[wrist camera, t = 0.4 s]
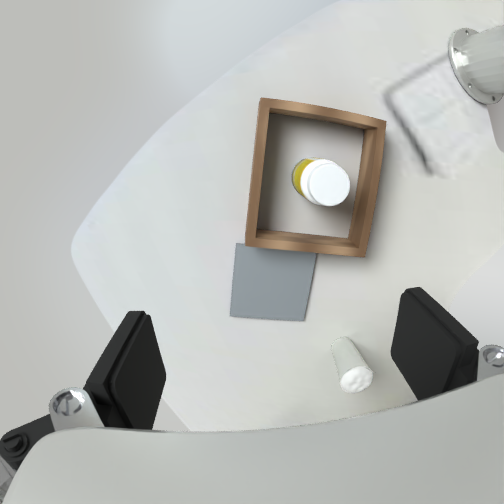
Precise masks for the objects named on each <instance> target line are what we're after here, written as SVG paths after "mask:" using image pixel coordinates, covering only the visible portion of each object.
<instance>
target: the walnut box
mask: <svg viewBox="0 0 504 504" xmlns="http://www.w3.org/2000/svg"><path fill="white" fill-rule="evenodd" d="M269 113H275V114H283V115H290V116H297V117H304V118H310V119H316V120H321V121H327V122H332V123H337V124H342V125H347V126H352V127H357V128H361V129H364V138H363V146H362V154H361V162H360V170H359V177H358V183H357V190H356V196H355V203H354V209H353V215H352V220H351V226H350V231H349V237H348V239H347V238H338V237H329V236H320V235H310V234H301V233H291V232H281V231H271V230H260V229H256V228H257V219H258V210H259V201H260V192H261V183H262V174H263V164H264V155H265V146H266V137H267V128H268V119H269ZM385 130H386V121H384V120H380V119H376V118H373V117H369V116H364V115H360V114H356V113H351V112H347V111H342V110H337V109H332V108H327V107H322V106H317V105H311V104H305V103H299V102H292V101H285V100H278V99H270V98H261V99H260V102H259V108H258V117H257V127H256V136H255V145H254V155H253V164H252V174H251V183H250V193H249V202H248V212H247V222H246V232H245V246H248V247H259V248H270V249H281V250H291V251H302V252H313V253H324V254H335V255H345V256H356V257H365V254H366V249H367V245H368V240H369V235H370V230H371V225H372V220H373V214H374V209H375V203H376V197H377V191H378V185H379V178H380V171H381V164H382V156H383V148H384V140H385Z"/></svg>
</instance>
